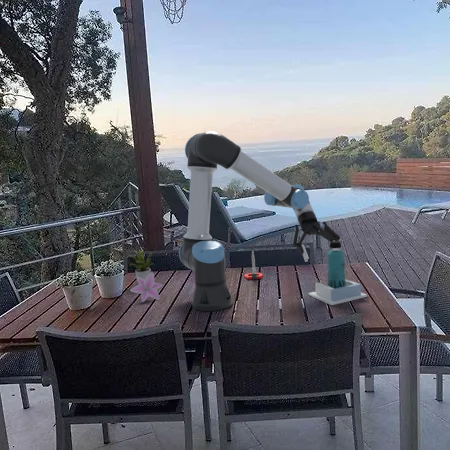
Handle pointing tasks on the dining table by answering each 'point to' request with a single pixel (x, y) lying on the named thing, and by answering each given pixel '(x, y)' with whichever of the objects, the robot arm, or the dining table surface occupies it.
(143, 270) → the house plant
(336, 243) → the beverage bottle
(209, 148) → the robot arm
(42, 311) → the dining table surface
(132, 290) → the lily
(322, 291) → the stop cradle
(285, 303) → the dining table surface
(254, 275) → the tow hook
